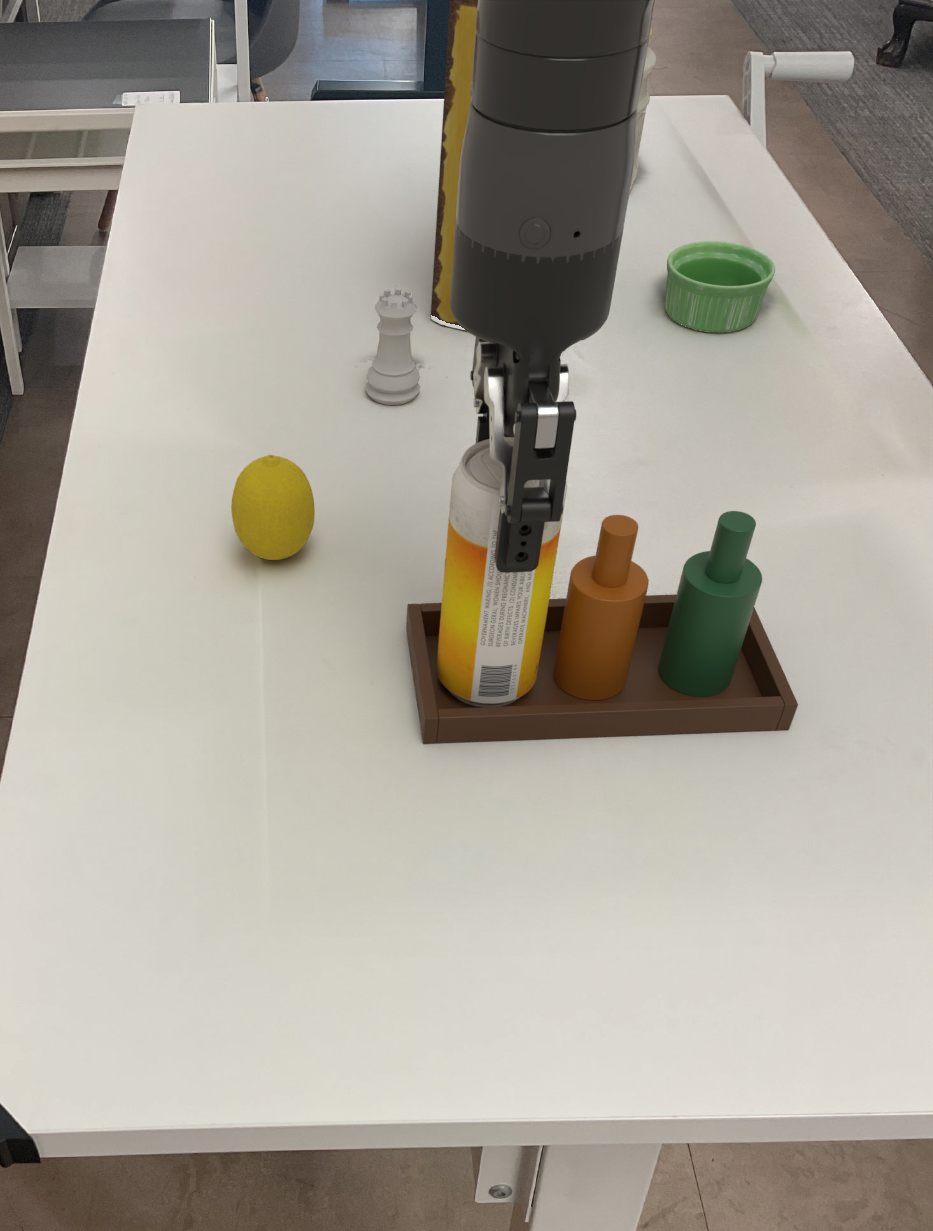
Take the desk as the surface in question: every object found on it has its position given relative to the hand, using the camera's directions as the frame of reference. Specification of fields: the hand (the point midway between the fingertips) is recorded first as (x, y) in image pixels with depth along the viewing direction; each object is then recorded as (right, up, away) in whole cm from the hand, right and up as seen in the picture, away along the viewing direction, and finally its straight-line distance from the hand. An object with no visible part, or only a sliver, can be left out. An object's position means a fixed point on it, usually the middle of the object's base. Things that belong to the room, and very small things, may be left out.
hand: (503, 521), depth 68 cm
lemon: (-13, +2, +18) cm, 22 cm away
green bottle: (+13, -7, +9) cm, 17 cm away
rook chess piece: (-4, +18, +33) cm, 38 cm away
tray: (+7, -8, +9) cm, 14 cm away
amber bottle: (+7, -7, +9) cm, 13 cm away
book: (+7, +34, +47) cm, 58 cm away
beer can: (0, -8, +9) cm, 12 cm away
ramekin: (+24, +28, +42) cm, 56 cm away
